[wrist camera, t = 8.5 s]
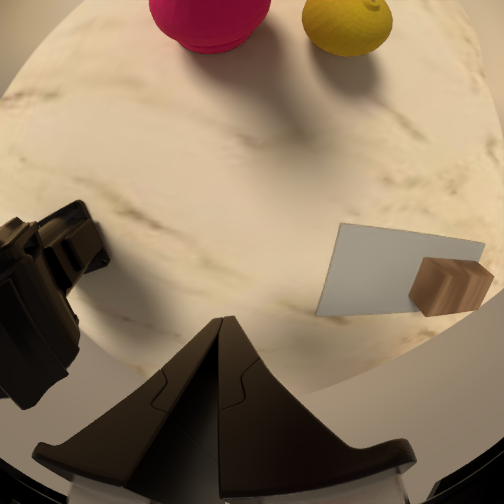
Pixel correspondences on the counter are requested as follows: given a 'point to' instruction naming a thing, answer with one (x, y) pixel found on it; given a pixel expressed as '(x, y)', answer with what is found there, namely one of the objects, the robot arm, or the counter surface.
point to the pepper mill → (209, 22)
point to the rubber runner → (382, 268)
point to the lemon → (347, 25)
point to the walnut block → (449, 286)
